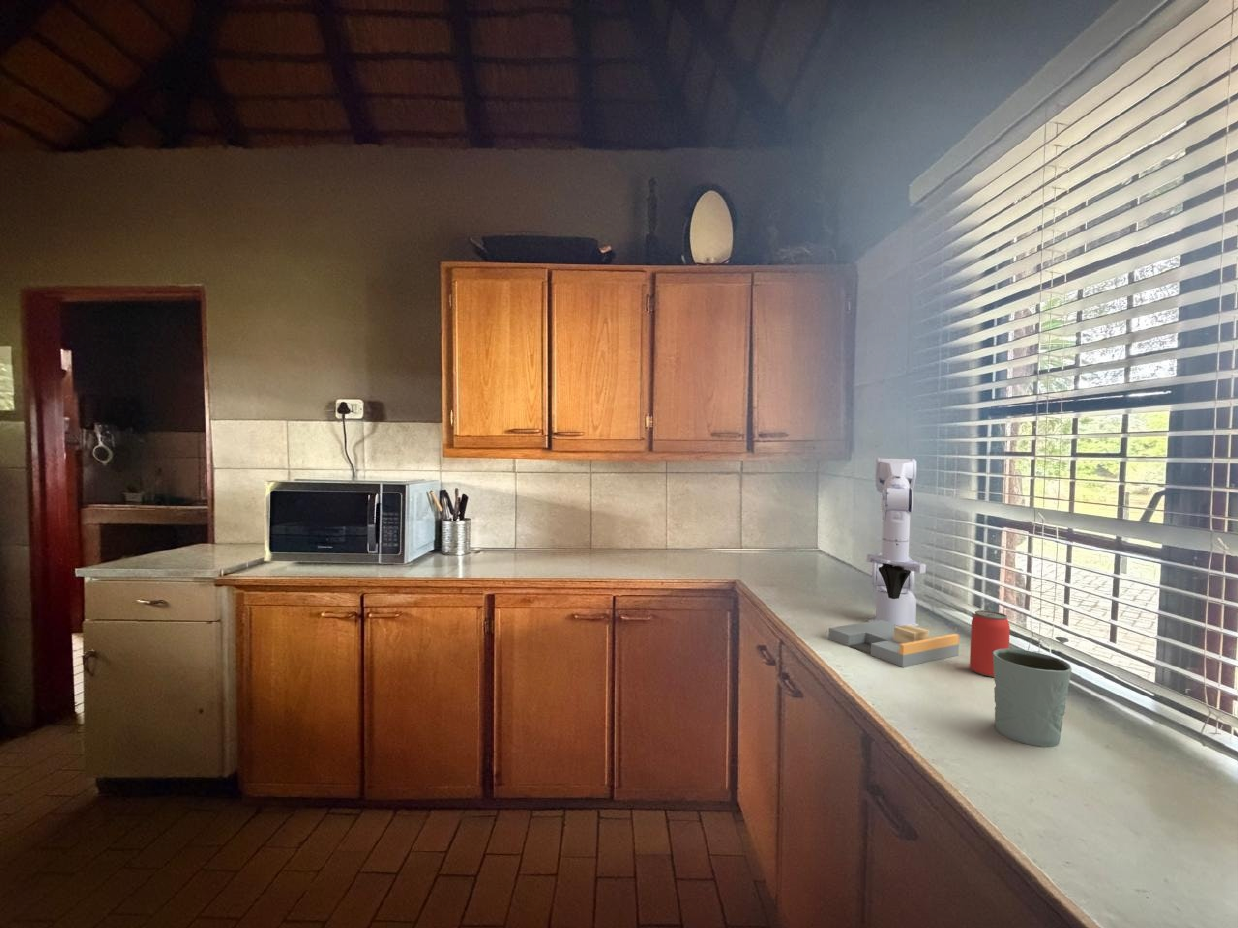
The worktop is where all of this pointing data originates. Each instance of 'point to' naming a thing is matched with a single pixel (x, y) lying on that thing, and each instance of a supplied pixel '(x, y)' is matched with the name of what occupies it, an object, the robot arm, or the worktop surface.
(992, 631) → the beer can
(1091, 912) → the worktop surface
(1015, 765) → the worktop surface
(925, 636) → the birch block
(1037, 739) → the grey green oval vase
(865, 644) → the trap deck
